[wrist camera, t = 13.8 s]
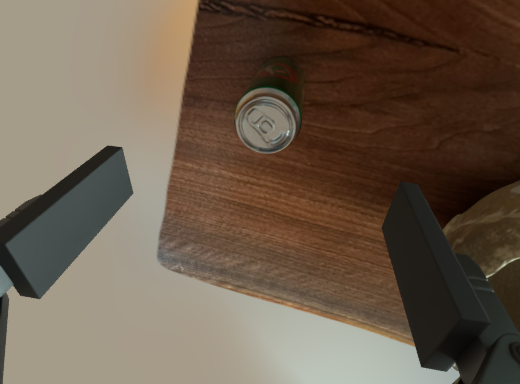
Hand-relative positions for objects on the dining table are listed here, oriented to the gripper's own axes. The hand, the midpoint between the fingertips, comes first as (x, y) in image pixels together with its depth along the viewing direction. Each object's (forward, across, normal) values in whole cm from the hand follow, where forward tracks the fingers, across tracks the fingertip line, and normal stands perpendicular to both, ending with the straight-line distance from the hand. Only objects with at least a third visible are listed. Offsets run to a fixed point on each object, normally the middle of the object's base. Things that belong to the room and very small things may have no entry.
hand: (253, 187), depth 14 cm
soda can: (+20, 0, 0) cm, 20 cm away
